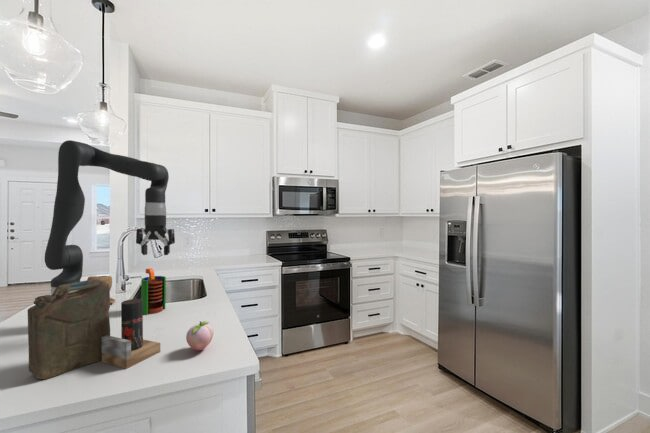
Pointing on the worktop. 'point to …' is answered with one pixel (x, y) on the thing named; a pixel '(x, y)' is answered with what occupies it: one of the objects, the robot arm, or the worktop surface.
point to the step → (126, 351)
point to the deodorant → (132, 322)
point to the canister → (68, 327)
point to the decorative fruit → (199, 335)
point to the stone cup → (106, 279)
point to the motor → (153, 293)
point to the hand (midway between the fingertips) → (155, 254)
